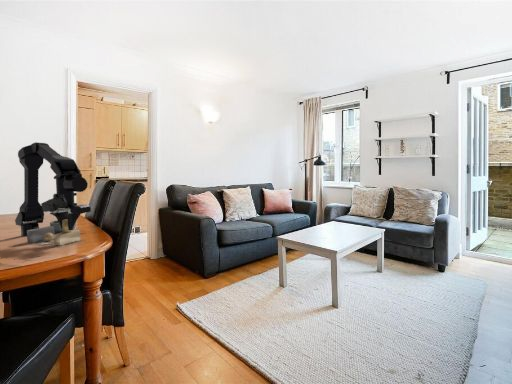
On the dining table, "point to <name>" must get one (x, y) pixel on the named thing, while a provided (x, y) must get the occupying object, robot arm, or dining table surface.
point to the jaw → (66, 235)
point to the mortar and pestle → (58, 227)
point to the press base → (37, 239)
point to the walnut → (48, 236)
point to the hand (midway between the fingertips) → (67, 229)
